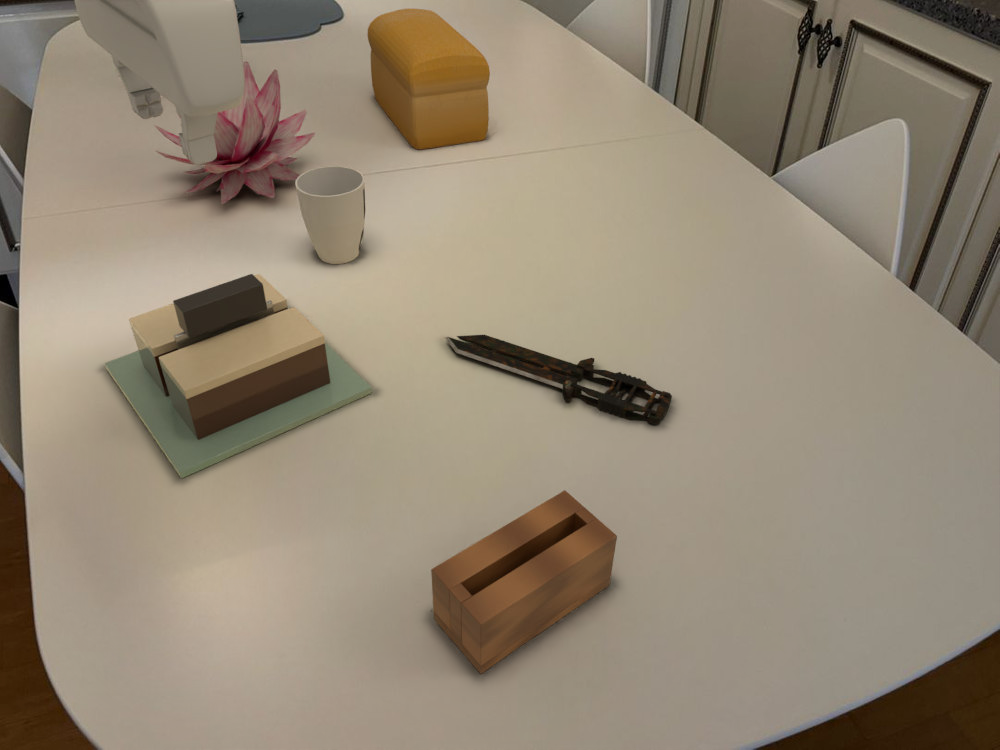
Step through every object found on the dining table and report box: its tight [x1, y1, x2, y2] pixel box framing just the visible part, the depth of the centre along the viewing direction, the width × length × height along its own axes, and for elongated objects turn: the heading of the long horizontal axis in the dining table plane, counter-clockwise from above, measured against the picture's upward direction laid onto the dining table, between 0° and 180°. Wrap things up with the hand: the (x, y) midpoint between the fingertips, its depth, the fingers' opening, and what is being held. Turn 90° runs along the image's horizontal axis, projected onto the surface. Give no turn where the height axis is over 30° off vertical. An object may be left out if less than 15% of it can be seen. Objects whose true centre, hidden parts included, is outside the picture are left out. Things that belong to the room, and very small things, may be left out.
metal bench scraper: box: [172, 273, 274, 350], centre depth 84 cm, size 10×2×10 cm, turn 128°
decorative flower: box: [154, 61, 316, 205], centre depth 118 cm, size 21×21×15 cm
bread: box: [366, 8, 491, 150], centre depth 138 cm, size 24×13×15 cm, turn 22°
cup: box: [294, 165, 366, 265], centre depth 105 cm, size 8×8×10 cm
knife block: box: [430, 490, 618, 674], centre depth 65 cm, size 13×6×6 cm, turn 128°
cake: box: [104, 273, 373, 479], centre depth 86 cm, size 20×20×7 cm
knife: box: [444, 334, 673, 425], centre depth 89 cm, size 25×6×1 cm, turn 57°
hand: (173, 136), depth 60 cm, fingers open, 8 cm apart
